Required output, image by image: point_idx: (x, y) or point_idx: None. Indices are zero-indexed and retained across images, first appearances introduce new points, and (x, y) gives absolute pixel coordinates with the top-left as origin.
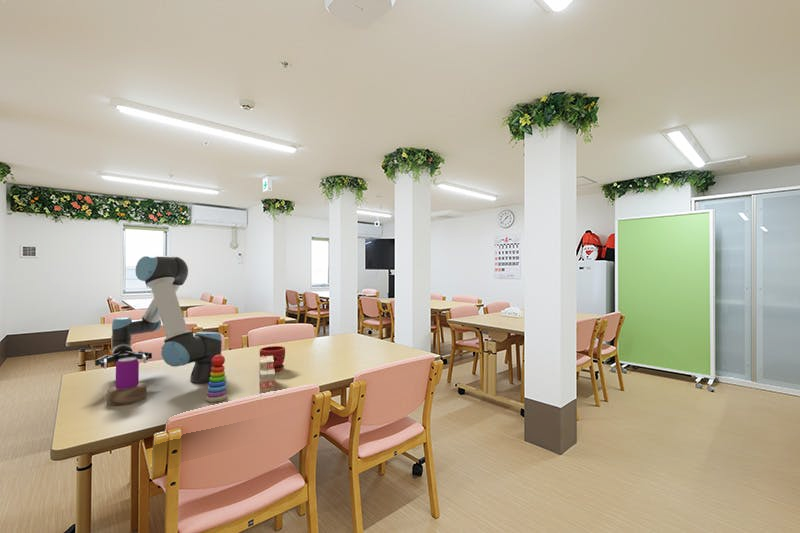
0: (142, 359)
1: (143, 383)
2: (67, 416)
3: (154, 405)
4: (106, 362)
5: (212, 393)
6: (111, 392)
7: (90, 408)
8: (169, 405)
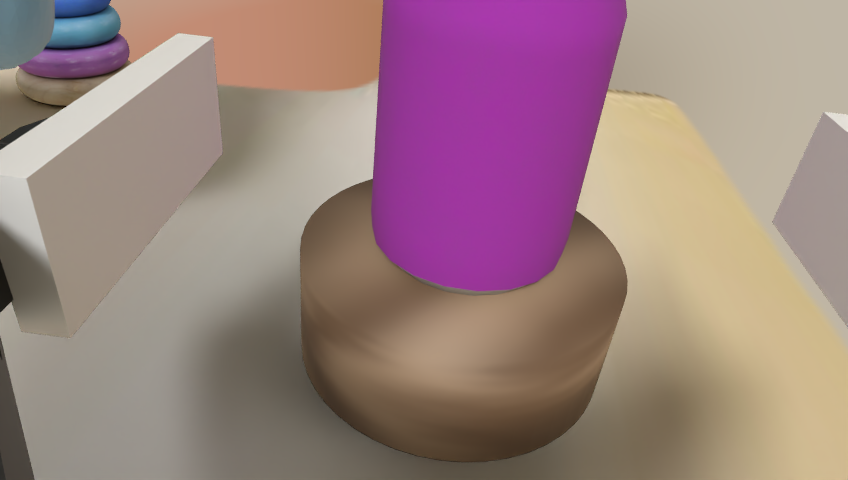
0: (69, 312)
1: (312, 258)
2: (792, 299)
3: (337, 174)
4: (826, 118)
5: (119, 34)
6: (583, 222)
7: (692, 337)
8: (281, 141)
